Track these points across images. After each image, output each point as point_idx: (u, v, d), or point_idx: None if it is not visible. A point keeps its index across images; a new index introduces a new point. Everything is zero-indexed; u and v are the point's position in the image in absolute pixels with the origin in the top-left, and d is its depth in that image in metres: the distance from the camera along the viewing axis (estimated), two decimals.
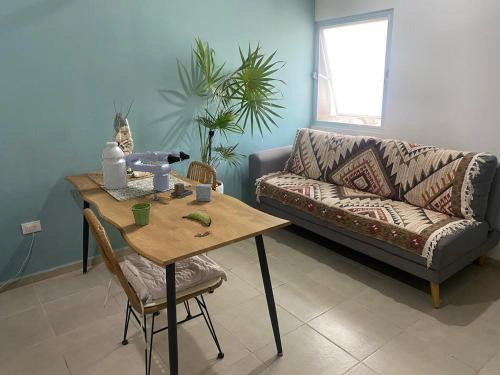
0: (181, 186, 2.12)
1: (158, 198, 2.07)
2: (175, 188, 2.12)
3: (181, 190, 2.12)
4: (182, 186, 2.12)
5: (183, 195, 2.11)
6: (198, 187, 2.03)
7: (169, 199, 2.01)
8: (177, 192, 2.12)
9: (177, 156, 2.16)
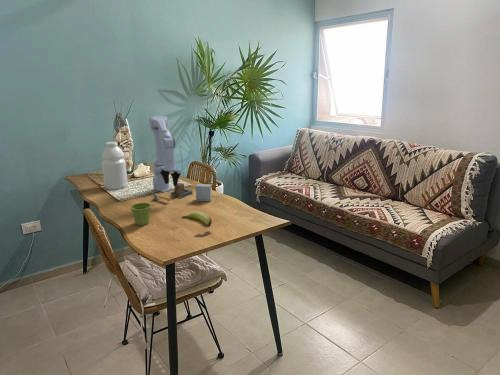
0: (181, 186, 2.12)
1: (158, 198, 2.07)
2: (175, 188, 2.12)
3: (181, 190, 2.12)
4: (182, 186, 2.12)
5: (183, 195, 2.11)
6: (198, 187, 2.03)
7: (169, 199, 2.01)
8: (177, 192, 2.12)
9: (172, 171, 2.00)
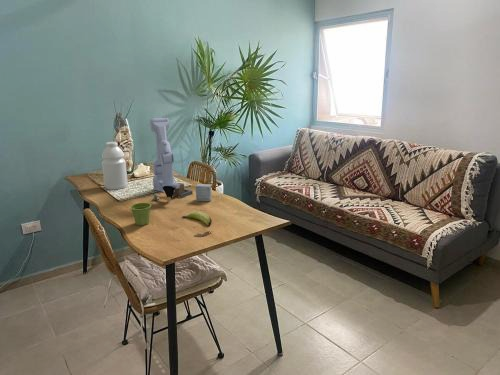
0: (181, 186, 2.12)
1: (158, 198, 2.07)
2: (175, 188, 2.12)
3: (181, 190, 2.12)
4: (182, 186, 2.12)
5: (183, 195, 2.11)
6: (198, 187, 2.03)
7: (169, 199, 2.01)
8: (177, 192, 2.12)
9: (171, 186, 2.01)
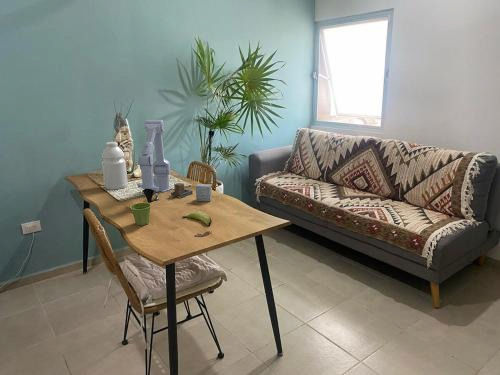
0: (181, 186, 2.12)
1: (158, 198, 2.07)
2: (175, 188, 2.12)
3: (181, 190, 2.12)
4: (182, 186, 2.12)
5: (183, 195, 2.11)
6: (198, 187, 2.03)
7: (144, 201, 1.98)
8: (177, 192, 2.12)
9: (150, 189, 1.96)
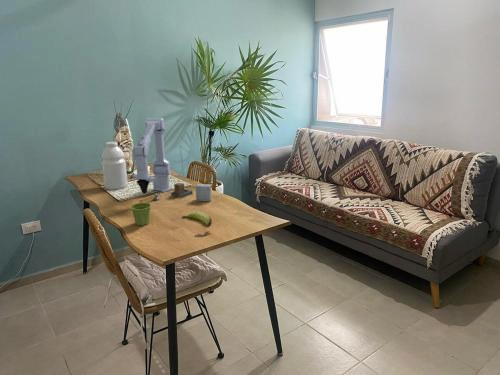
0: (181, 186, 2.12)
1: (158, 198, 2.07)
2: (175, 188, 2.12)
3: (181, 190, 2.12)
4: (182, 186, 2.12)
5: (183, 195, 2.11)
6: (198, 187, 2.03)
7: (139, 201, 1.99)
8: (177, 192, 2.12)
9: None
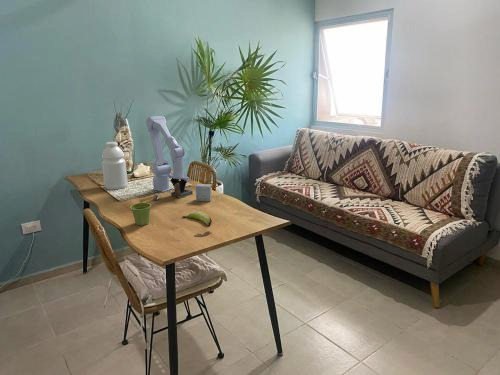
0: None
1: (158, 198, 2.07)
2: (175, 188, 2.12)
3: None
4: None
5: (183, 195, 2.11)
6: (198, 187, 2.03)
7: (139, 201, 1.99)
8: (177, 192, 2.12)
9: (181, 179, 2.10)
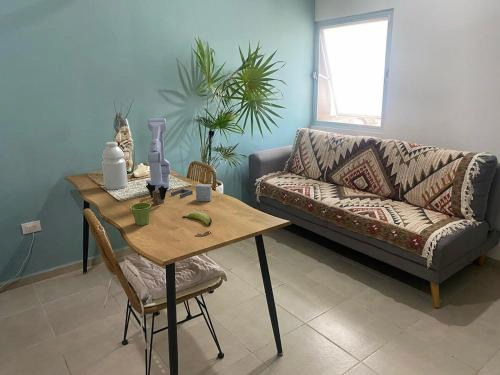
0: None
1: None
2: (153, 196, 2.00)
3: (160, 198, 2.00)
4: None
5: (183, 195, 2.11)
6: (198, 187, 2.03)
7: (139, 201, 1.99)
8: (156, 200, 1.99)
9: (159, 185, 1.97)
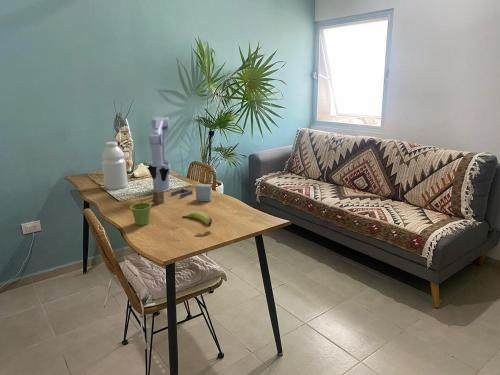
0: (160, 193, 1.99)
1: None
2: (153, 196, 2.00)
3: (160, 198, 2.00)
4: (161, 193, 2.00)
5: (183, 195, 2.11)
6: (198, 187, 2.03)
7: (139, 201, 1.99)
8: (156, 200, 1.99)
9: (160, 167, 2.05)
